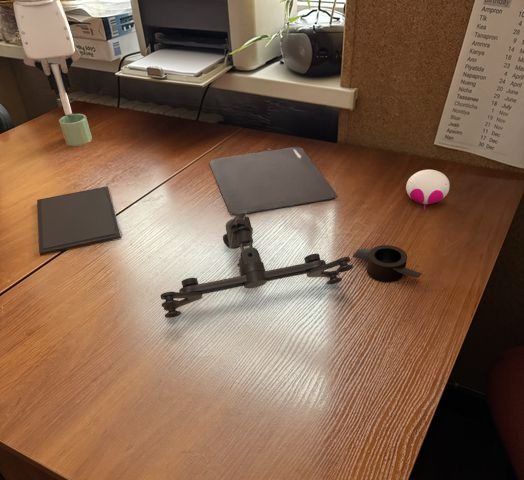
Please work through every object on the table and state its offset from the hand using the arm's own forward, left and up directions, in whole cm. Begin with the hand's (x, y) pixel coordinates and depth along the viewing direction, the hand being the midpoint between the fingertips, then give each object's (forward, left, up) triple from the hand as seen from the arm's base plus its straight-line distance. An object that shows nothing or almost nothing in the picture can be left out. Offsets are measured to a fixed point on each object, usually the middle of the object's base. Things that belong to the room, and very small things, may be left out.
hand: (62, 91), depth 113 cm
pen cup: (0, 0, -12) cm, 12 cm away
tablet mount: (+38, -59, -12) cm, 71 cm away
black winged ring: (+60, -60, -12) cm, 86 cm away
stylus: (0, 0, -6) cm, 6 cm away
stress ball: (+72, -40, -12) cm, 83 cm away
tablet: (+7, -37, -12) cm, 39 cm away
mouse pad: (+44, -26, -12) cm, 53 cm away
